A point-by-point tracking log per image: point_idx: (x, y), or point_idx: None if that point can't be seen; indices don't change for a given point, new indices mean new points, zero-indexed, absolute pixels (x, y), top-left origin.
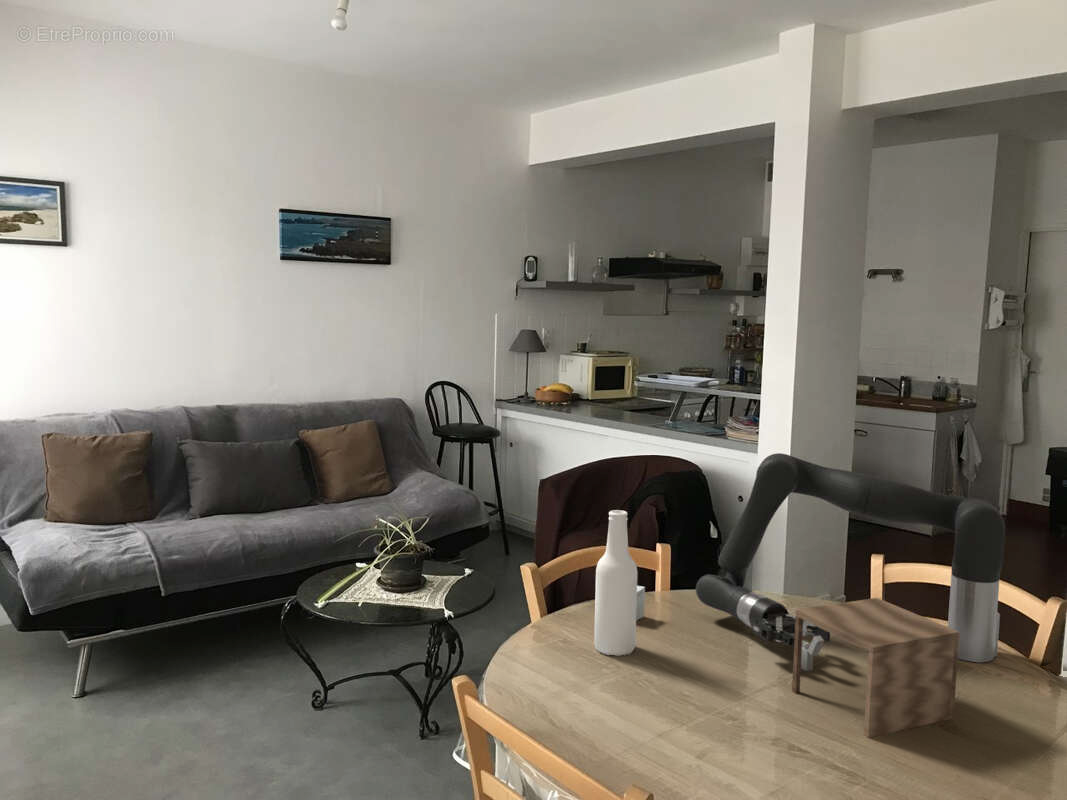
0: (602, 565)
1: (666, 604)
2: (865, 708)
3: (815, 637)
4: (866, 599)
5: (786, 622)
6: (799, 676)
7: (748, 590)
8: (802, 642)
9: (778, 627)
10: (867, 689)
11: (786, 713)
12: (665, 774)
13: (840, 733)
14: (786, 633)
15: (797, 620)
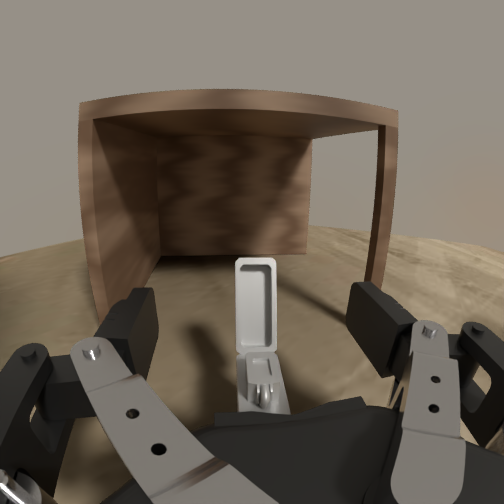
0: None
1: None
2: (308, 218)
3: (270, 258)
4: (120, 96)
5: (333, 452)
6: None
7: None
8: (274, 369)
9: (434, 352)
10: (309, 190)
11: (397, 288)
12: (491, 253)
13: (334, 258)
14: (393, 303)
15: (393, 138)
